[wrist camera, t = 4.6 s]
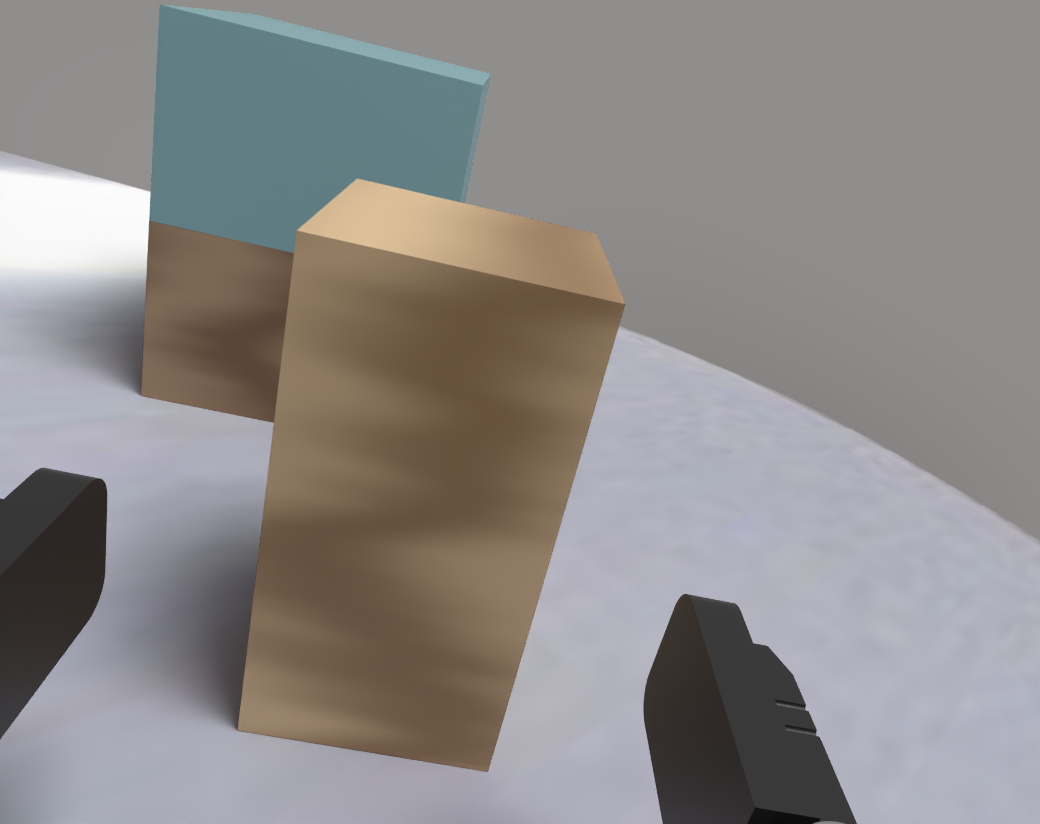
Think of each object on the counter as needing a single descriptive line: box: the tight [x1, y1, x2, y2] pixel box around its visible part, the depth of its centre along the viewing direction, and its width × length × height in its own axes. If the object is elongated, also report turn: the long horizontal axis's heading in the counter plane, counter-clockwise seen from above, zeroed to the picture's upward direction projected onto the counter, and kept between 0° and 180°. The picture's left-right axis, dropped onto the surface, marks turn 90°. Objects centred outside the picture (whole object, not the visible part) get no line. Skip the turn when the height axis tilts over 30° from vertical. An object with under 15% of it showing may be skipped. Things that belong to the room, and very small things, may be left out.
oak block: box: [238, 179, 625, 772], centre depth 17 cm, size 5×5×10 cm
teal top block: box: [149, 5, 491, 253], centre depth 28 cm, size 9×9×6 cm
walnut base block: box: [141, 221, 294, 423], centre depth 30 cm, size 9×9×6 cm
